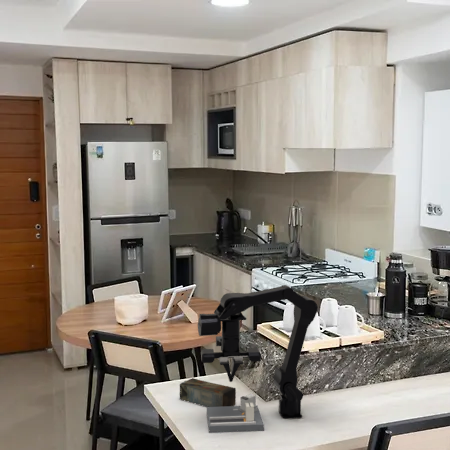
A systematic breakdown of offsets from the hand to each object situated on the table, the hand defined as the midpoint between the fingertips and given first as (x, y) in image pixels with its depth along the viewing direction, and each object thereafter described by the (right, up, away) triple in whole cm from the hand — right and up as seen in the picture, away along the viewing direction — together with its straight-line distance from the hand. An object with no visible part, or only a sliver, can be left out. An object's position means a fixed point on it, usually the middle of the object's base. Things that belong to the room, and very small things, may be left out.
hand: (230, 381), depth 200 cm
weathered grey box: (-8, -12, +17) cm, 22 cm away
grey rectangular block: (+6, -10, +5) cm, 13 cm away
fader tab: (+6, -11, -4) cm, 13 cm away
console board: (+1, -13, 0) cm, 13 cm away
